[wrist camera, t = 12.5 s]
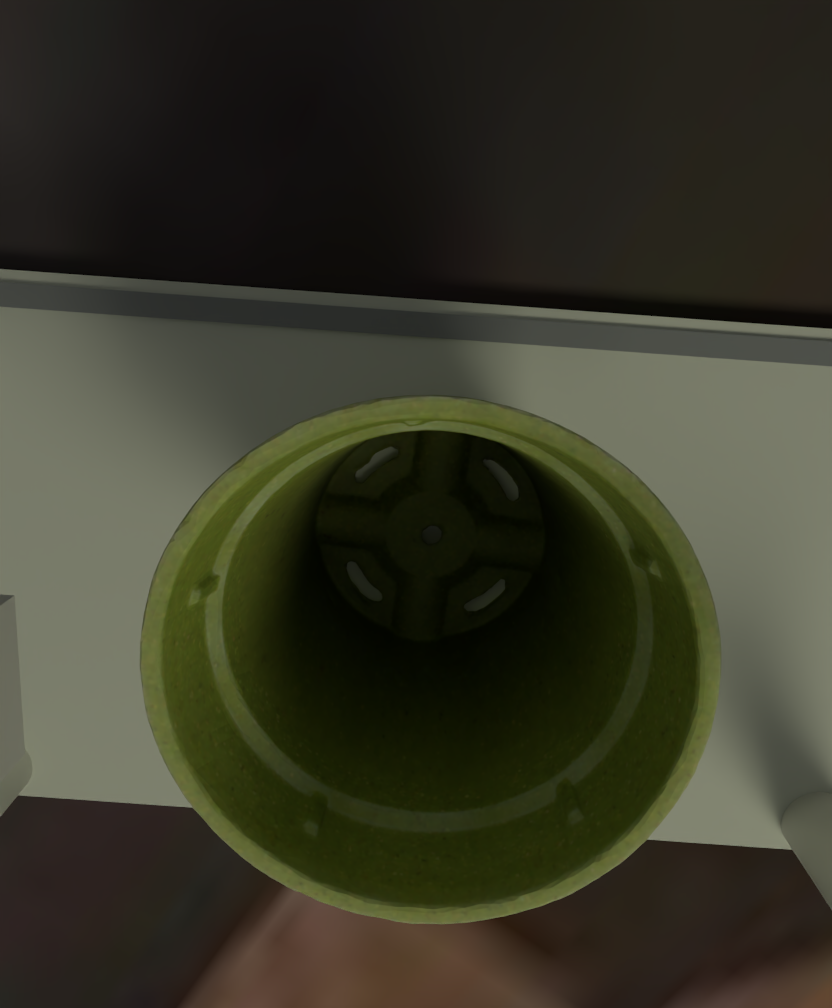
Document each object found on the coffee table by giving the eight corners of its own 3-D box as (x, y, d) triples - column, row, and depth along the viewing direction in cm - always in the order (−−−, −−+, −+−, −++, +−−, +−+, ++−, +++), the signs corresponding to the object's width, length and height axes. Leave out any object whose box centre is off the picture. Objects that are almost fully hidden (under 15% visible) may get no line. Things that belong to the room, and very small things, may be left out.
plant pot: (409, 751, 23) (399, 1015, 15) (180, 511, 21) (18, 653, 13) (675, 552, 21) (836, 720, 13) (450, 273, 20) (467, 258, 11)
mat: (955, 337, 20) (1484, 384, 10) (834, 841, 24) (1127, 1241, 14) (-68, 264, 20) (-570, 237, 10) (-24, 781, 24) (-355, 1139, 14)
